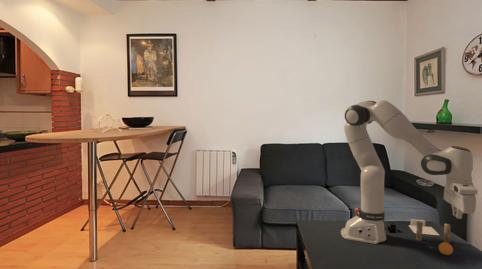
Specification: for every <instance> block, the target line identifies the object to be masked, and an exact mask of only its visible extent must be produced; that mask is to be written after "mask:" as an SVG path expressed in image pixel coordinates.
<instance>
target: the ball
mask: <svg viewBox="0 0 482 269" xmlns="http://www.w3.org/2000/svg"><path fill="white" fill-rule="evenodd" d="M438 251H439V252H440V253H441V254H442V255H445V256H451V255H452V254H453V252H454V248H453V246H452V245H451V244H450V243H446V242H444V241H443V242H441V243H439V245H438Z"/></svg>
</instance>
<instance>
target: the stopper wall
mask: <svg viewBox="0 0 482 269" xmlns="http://www.w3.org/2000/svg"><path fill="white" fill-rule="evenodd" d="M417 222H422V223H423V226H426V221H425V220H424V219H413V218H411V219H410V225H414V226H417Z"/></svg>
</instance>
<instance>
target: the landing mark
mask: <svg viewBox="0 0 482 269" xmlns="http://www.w3.org/2000/svg"><path fill="white" fill-rule="evenodd" d="M407 226H408V228H410V230H411V231H412V232H413V233H414V234H416V228H417V226H414V225H411V224H409V225H407ZM422 235H429V236H430V235H431V236H440V234H439V233H438V231H436V230H435V229H434V228H433V227H432V226H426V225H425V226H422Z"/></svg>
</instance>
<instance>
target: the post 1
mask: <svg viewBox="0 0 482 269" xmlns="http://www.w3.org/2000/svg"><path fill="white" fill-rule="evenodd" d="M422 226H423V223H422V222H417V228H416V236H415V238H416V240H417V241H423V234H422Z"/></svg>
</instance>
